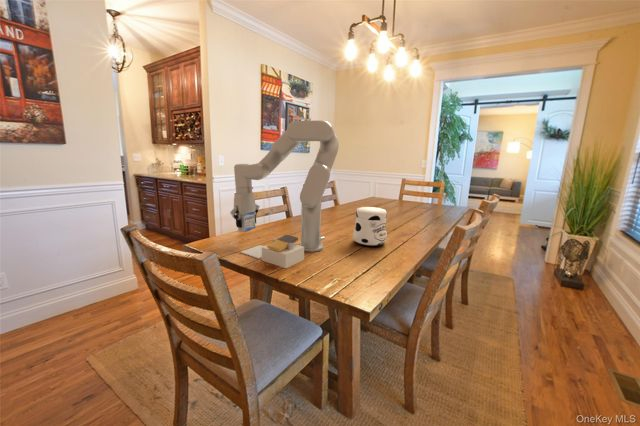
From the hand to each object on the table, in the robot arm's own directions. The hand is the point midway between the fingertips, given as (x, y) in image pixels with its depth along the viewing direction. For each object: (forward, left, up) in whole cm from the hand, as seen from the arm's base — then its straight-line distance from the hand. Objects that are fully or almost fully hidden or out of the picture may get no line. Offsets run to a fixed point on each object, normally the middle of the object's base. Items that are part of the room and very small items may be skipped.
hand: (246, 225), depth 138 cm
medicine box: (0, 0, -3) cm, 3 cm away
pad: (+3, +11, -11) cm, 16 cm away
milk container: (-43, +46, -11) cm, 64 cm away
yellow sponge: (+2, +26, -4) cm, 27 cm away
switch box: (+3, +26, -11) cm, 28 cm away
